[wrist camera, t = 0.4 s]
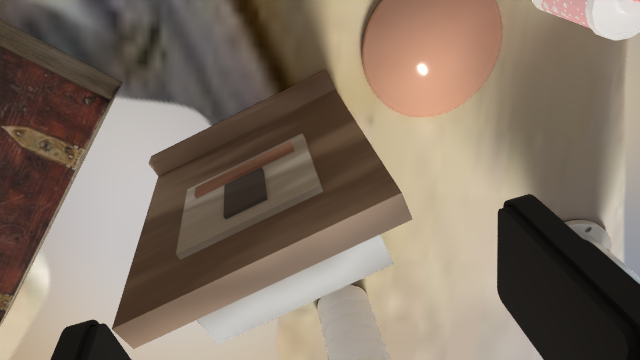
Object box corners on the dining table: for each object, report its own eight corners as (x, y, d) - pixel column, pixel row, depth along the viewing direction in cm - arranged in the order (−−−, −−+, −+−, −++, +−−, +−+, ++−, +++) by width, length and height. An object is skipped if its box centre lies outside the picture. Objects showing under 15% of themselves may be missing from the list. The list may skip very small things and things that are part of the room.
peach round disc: (521, 45, 42) (526, 46, 41) (417, 139, 45) (420, 142, 44) (446, -68, 36) (450, -68, 35) (332, 49, 39) (334, 51, 38)
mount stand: (362, 152, 44) (440, 286, 28) (206, 227, 46) (190, 399, 29) (325, 69, 39) (392, 171, 23) (151, 156, 41) (94, 313, 24)
